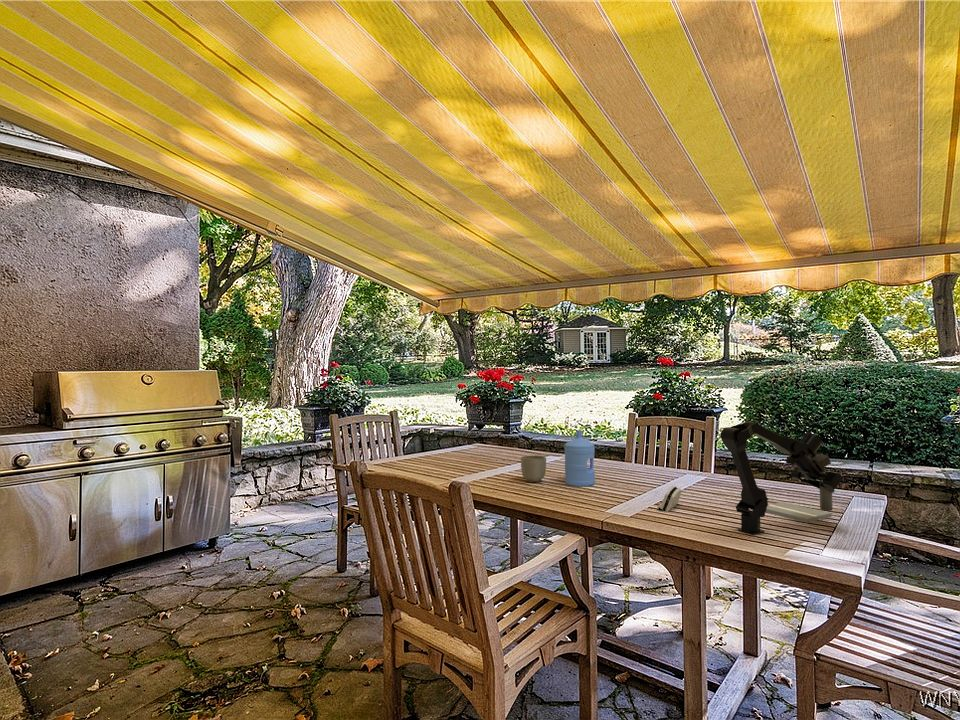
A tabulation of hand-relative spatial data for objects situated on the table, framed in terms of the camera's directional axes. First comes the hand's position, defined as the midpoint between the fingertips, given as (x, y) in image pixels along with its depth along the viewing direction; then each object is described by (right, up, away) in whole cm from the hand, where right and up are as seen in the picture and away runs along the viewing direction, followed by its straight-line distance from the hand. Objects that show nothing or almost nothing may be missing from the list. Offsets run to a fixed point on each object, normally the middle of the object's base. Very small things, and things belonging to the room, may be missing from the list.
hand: (828, 490), depth 200 cm
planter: (-105, -16, +81) cm, 134 cm away
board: (-5, -13, +13) cm, 19 cm away
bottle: (-1, -7, -1) cm, 7 cm away
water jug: (-82, -15, +74) cm, 111 cm away
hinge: (-51, -14, +26) cm, 59 cm away
